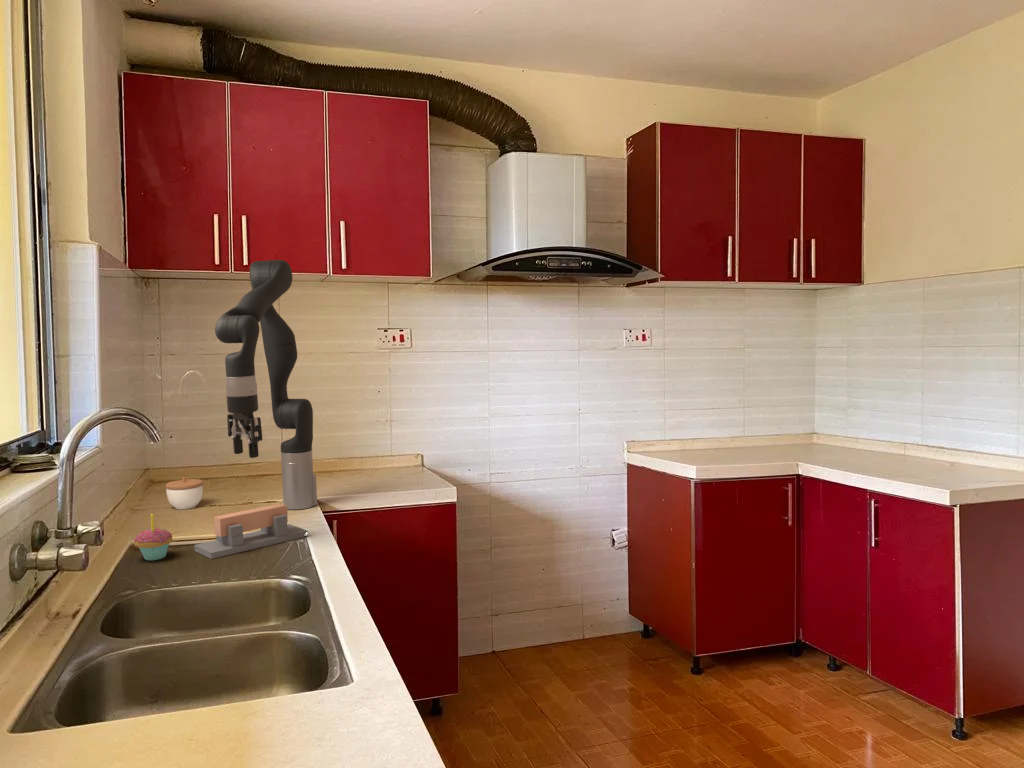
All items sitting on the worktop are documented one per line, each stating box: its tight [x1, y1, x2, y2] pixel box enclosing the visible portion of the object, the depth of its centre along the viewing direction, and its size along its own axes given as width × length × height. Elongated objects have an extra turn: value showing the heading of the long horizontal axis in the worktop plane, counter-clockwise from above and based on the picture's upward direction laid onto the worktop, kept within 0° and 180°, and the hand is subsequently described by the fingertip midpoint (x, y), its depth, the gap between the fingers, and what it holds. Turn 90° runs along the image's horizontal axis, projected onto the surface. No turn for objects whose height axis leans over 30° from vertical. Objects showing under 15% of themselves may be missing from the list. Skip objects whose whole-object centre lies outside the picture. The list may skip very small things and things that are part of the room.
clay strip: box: [213, 503, 289, 537], centre depth 200 cm, size 18×4×4 cm, turn 134°
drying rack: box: [193, 515, 309, 560], centre depth 200 cm, size 26×10×6 cm, turn 134°
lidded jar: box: [165, 476, 204, 511], centre depth 241 cm, size 11×11×9 cm
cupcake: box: [133, 511, 173, 561], centre depth 190 cm, size 9×8×12 cm
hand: (246, 455), depth 202 cm, fingers open, 8 cm apart
